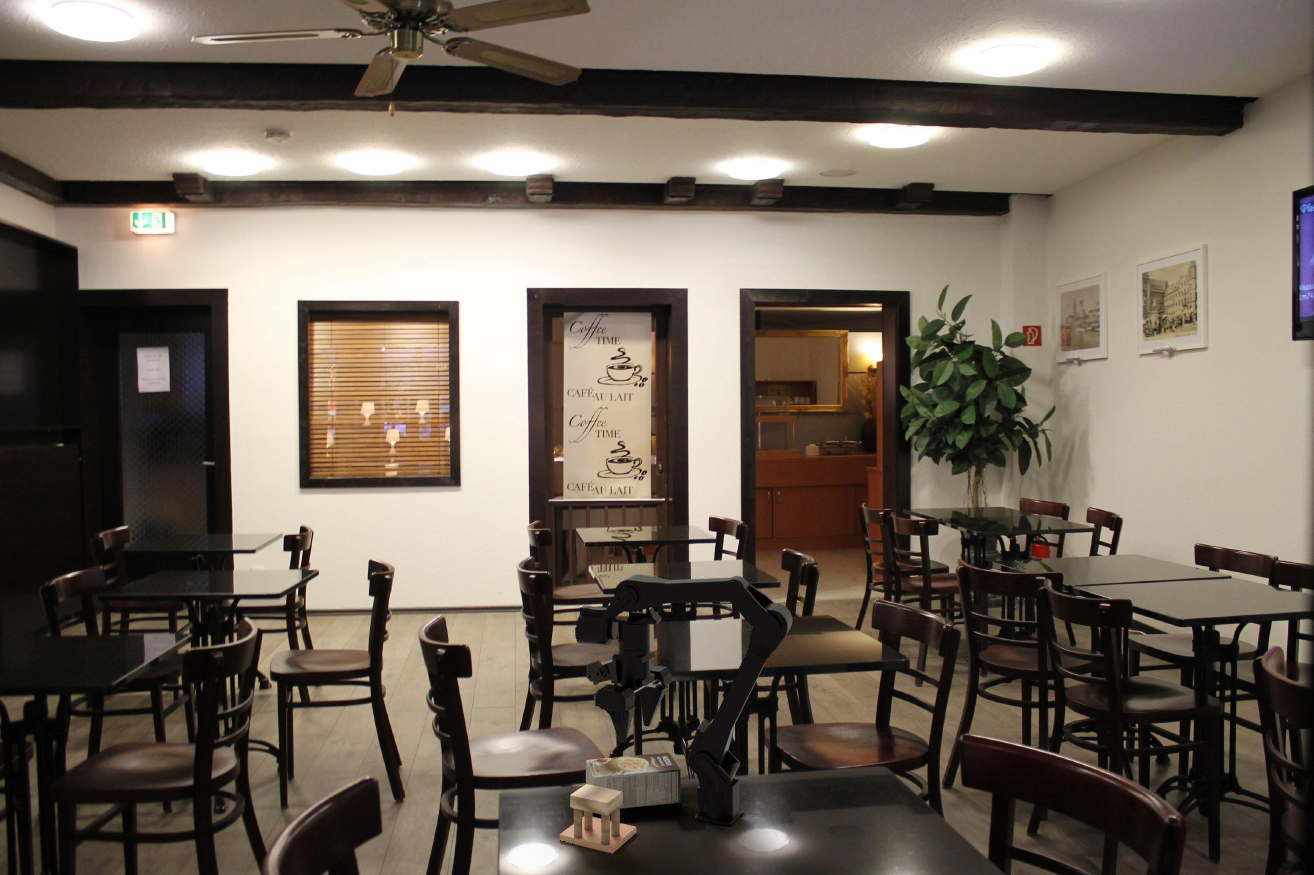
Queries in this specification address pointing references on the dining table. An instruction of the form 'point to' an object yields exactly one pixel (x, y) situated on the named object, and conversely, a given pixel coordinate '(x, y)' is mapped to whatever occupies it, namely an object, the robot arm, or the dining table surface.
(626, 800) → the coffee box
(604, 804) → the oak stool
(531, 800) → the dining table surface
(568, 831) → the terracotta tile
